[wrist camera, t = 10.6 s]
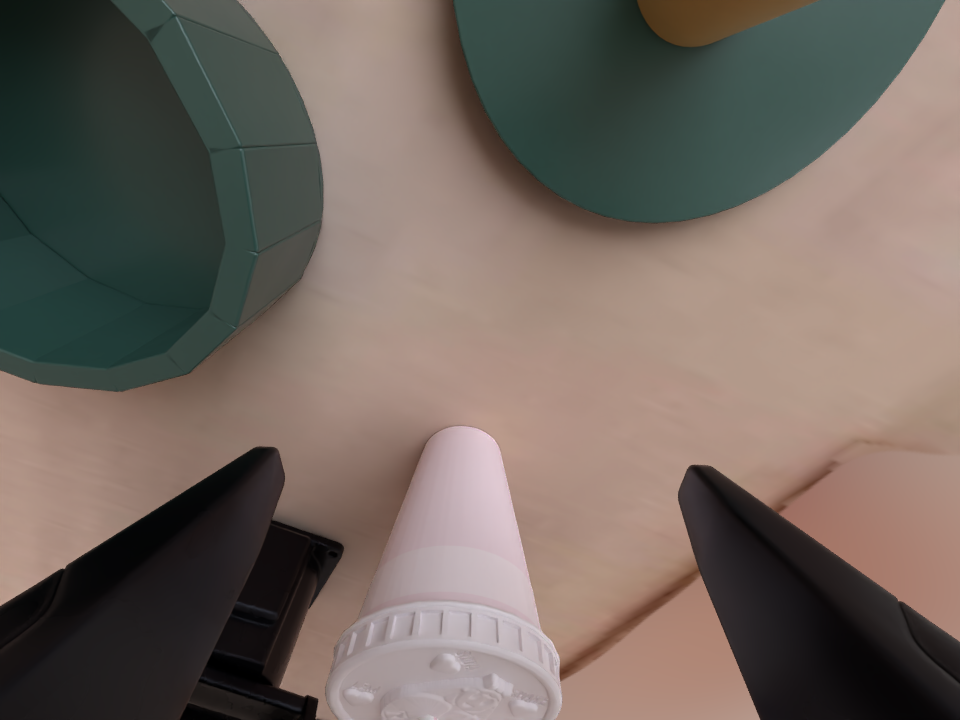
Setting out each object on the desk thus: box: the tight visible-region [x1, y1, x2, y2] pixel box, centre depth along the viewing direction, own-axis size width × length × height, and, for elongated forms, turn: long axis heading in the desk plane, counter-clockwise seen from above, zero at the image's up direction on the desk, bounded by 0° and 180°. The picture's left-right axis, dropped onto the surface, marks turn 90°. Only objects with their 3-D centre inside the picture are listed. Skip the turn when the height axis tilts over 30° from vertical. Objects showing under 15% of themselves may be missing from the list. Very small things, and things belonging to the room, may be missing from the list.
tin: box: [0, 0, 323, 392], centre depth 11 cm, size 12×12×5 cm
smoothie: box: [325, 426, 562, 720], centre depth 13 cm, size 6×6×14 cm
